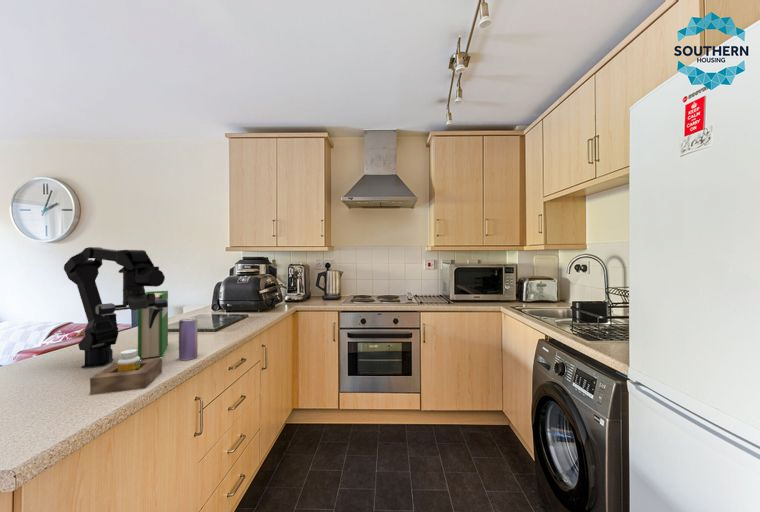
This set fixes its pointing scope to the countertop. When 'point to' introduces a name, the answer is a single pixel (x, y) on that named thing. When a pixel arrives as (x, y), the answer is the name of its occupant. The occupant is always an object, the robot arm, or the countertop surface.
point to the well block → (125, 377)
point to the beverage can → (188, 338)
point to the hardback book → (153, 330)
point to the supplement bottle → (129, 361)
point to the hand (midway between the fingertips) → (133, 330)
